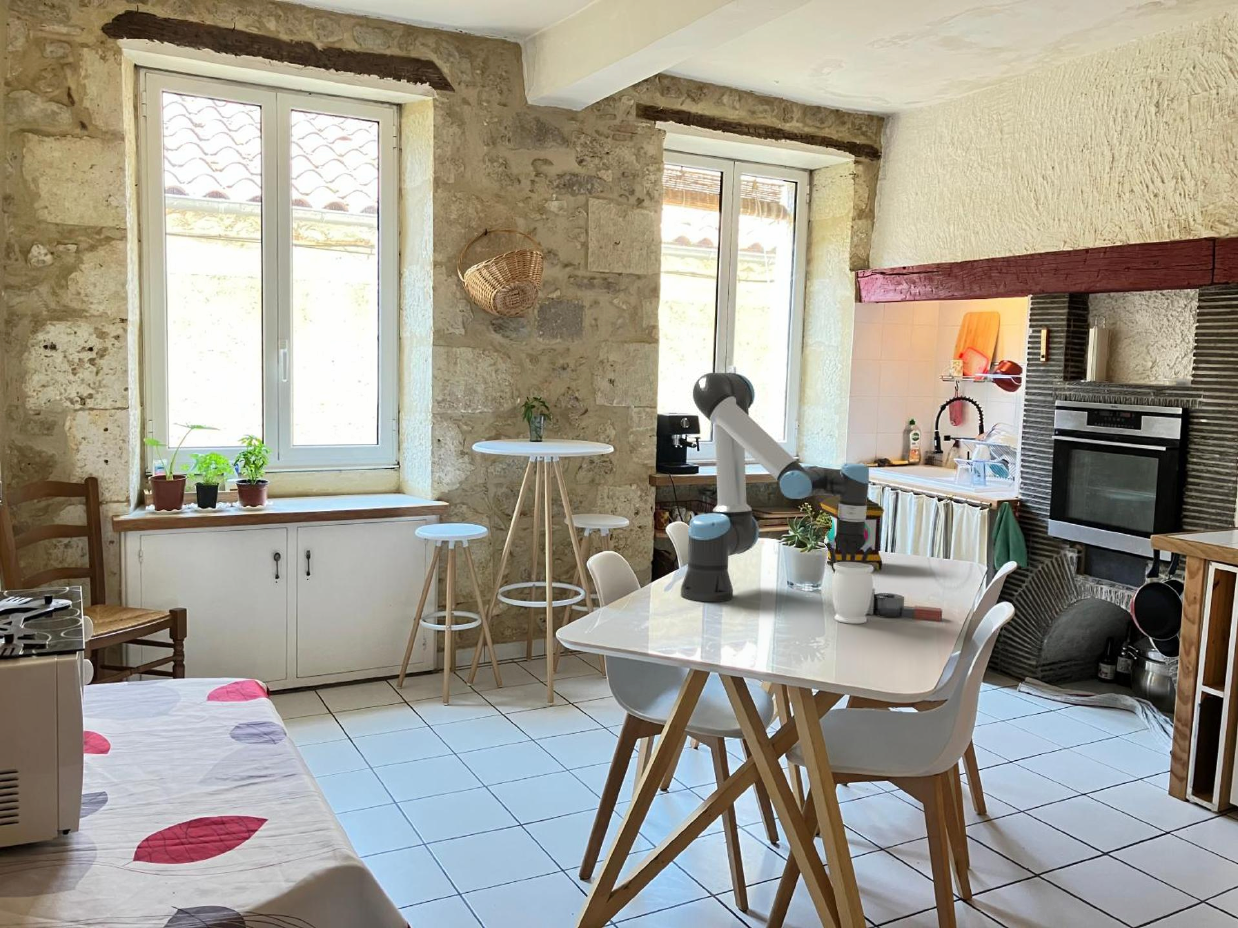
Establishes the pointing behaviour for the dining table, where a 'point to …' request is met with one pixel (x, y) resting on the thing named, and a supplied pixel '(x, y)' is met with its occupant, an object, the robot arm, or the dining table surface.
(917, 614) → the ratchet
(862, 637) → the dining table surface
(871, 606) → the grey cube
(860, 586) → the jar
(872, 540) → the decorative lantern
